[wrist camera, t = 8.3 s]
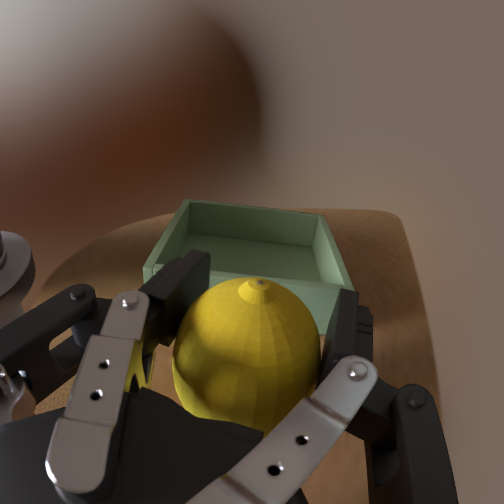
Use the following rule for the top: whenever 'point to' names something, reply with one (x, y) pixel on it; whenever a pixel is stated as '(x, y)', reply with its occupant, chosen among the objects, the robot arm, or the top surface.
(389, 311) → the top surface
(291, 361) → the lemon
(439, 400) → the top surface
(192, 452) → the robot arm
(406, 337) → the top surface
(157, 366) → the top surface
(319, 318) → the bin
